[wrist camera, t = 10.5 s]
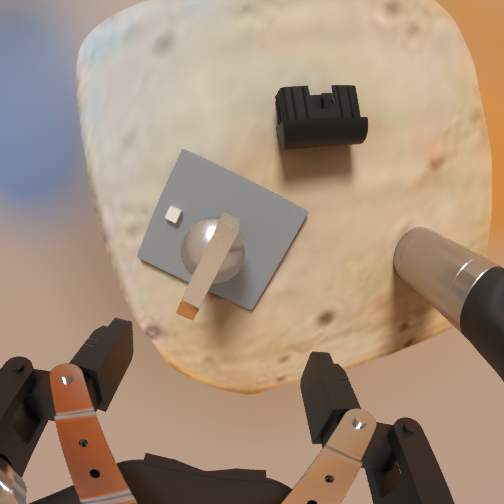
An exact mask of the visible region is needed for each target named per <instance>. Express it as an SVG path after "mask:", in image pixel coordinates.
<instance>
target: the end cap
mask: <svg viewBox="0 0 504 504" xmlns="http://www.w3.org/2000/svg"><path fill="white" fill-rule="evenodd" d="M331 87H332V92H333V93H322V94H321V95H309V89H308V86H293V87H283V88H280V90H279V91H278V94H277V95H276V96H275V98H276V102H275V104H276V110H277V116H278V123H279V125H278V126H277V127H276V129H277V134H278V139H279V143H280V145H281V147H282V149H285V150H286V149H295V148H306V147H318V146H332V145H351V144H361V143H363V142H364V140H365V139H366V136H367V132H368V118H367V117H360V111H359V104H358V99H357V93H356V88H355V86H352V85H332V86H331Z"/></svg>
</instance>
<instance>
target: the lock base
mask: <svg viewBox="0 0 504 504" xmlns="http://www.w3.org/2000/svg"><path fill="white" fill-rule="evenodd" d="M223 212H225V213H227V214H230V215H232V216H234V217H236V218H238V219H240V221H239V230H240V232H241V233H242V236H243V238H244V243H245V258H244V262H243V265H242V267H241V269H240V270H239V272H238V273H237V274H236V275H235V276H234V277H232V278H231V279H229V280H227V281H224V282H221V283H212V284H211V286H210V288H209V290H208V291H209V292H211V293H213V294H215V295H218V296H220V297H222V298H224V299H227V300H229V301H231V302H233V303H236V304H238V305H240V306H242V307H245V308H247V309H249V310H252V309H253V308H254V306H255V304H256V302H257V301H258V299H259V297H260V296H261V294H262V292H263V291H264V289H265V287H266V286H267V284H268V282H269V280H270V279H271V277H272V275H273V274H274V272H275V270H276V268H277V267H278V265H279V263H280V261H281V260H282V258H283V256H284V255H285V253H286V251H287V249H288V248H289V246H290V244H291V242H292V241H293V239H294V237H295V235H296V233H297V232H298V230H299V228H300V226H301V225H302V223H303V221H304V219H305V217H306V216H307V214H308V211H306V210H305V209H303V208H301V207H299V206H297V205H295V204H294V203H292V202H290V201H288V200H286V199H284V198H282V197H281V196H279V195H277V194H275V193H273V192H271V191H269V190H267V189H265V188H263V187H261V186H259V185H257V184H256V183H254V182H252V181H250V180H248V179H246V178H244V177H242V176H240V175H238V174H236V173H234V172H231V171H229V170H227V169H225V168H223V167H221V166H219V165H217V164H215V163H213V162H211V161H209V160H206V159H204V158H202V157H200V156H198V155H196V154H194V153H191V152H189V151H187V150H185V149H182V151H181V153H180V155H179V157H178V159H177V162H176V164H175V166H174V168H173V170H172V172H171V174H170V177H169V179H168V181H167V183H166V186H165V188H164V190H163V192H162V195H161V197H160V199H159V202H158V204H157V207H156V209H155V211H154V214H153V216H152V219H151V221H150V224H149V226H148V229H147V232H146V234H145V237H144V239H143V242H142V245H141V248H140V250H139V253H138V256H137V257H138V258H140V259H142V260H144V261H146V262H148V263H150V264H152V265H154V266H156V267H158V268H160V269H162V270H164V271H166V272H168V273H170V274H172V275H174V276H177V277H179V278H181V279H183V280H185V281H187V282H189V281H190V279H191V277H192V275H191V274H190V273H189V272H188V271H187V269H186V268H185V266H184V264H183V262H182V259H181V244H182V241H183V239H184V237H185V235H186V234H187V232H188V231H189V230H190V228H191V227H192V226H193V225H194V224H195V223H197V222H198V221H200V220H202V219H204V218H208V217H220V218H221V216H222V214H223Z"/></svg>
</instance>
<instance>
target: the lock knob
mask: <svg viewBox="0 0 504 504" xmlns="http://www.w3.org/2000/svg"><path fill="white" fill-rule="evenodd" d="M239 221H240V219H238V218H236V217H234V216H232V215H230V214H227V213H225V212H223V214H222V216H221V218H220V217H208V218H204V219H202V220H200V221H198V222H197V223H195V224H194V225H193V226H192V227H191V228H190V230H189V231H188V232H187V234H186V235H185V237H184V239H183V241H182V244H181V259H182V262H183V264H184V266H185V268H186V269H187V271H188V272H189V273H190V274H191V275H192V277H191V279H190V281H189V284H188V286H187V288H186V291H185V293H184V296H183V298H182V300H181V303H180V305H179V307H178V310H177V312H176V313H177V314H180V315H182V316H184V317H186V318H188V319H191V320H194V318H195V316H196V314H197V312H198V310H199V308H200V306H201V304H202V302H203V300H204V298H205V296H206V294H207V292H208V290H209V288H210V286H211V284H212V283H221V282H224V281H227V280H229V279H231V278H232V277H234V276H235V275H236V274H237V273H238V272H239V270H240V269H241V267H242V265H243V262H244V258H245V243H244V238H243V236H242V233H241V232H240V230H239Z"/></svg>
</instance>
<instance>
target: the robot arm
mask: <svg viewBox="0 0 504 504" xmlns="http://www.w3.org/2000/svg"><path fill="white" fill-rule="evenodd" d="M394 267H395V270H396V272H397V274H398V276H399V277H400V278H401V279H402V280H404V281H405V282H406V283H407V284H408V285H409V286H410V287H412V288H413V289H414V290H415V291H416V292H417V293H418V294H420V295H421V296H422V297H423V298H424V299H425V300H426V301H427V302H429V303H430V304H431V305H432V306H433V307H434V308H435V309H436V310H437V311H438V312H440V313H441V314H442V315H443V316H444V317H445V318H446V319H447V320H448V321H449V322H450V323H451V324H453V325H454V326H455V327H456V328H457V329H458V330H459V331H460V332H461V333H462V334H463V335H464V336H465V337H466V338H467V339H468V340H469V341H470V342H471V343H472V345H474V347H475V348H476V349H477V351H478V352H479V353H480V354H481V355H482V356H483V357H484V359H485V360H486V361H487V362H488V363H489V364H490V365H491V366H492V367H493V369H494V370H495V371H496V372H497V374H498V375H499V376H500V377H501V378H502V380H503V381H504V268H502V267H501V266H499V265H497V264H495V263H494V262H492V261H490V260H488V259H486V258H484V257H482V256H481V255H479V254H477V253H475V252H473V251H471V250H469V249H467V248H465V247H463V246H461V245H459V244H457V243H455V242H453V241H451V240H449V239H447V238H445V237H443V236H441V235H439V234H437V233H435V232H433V231H431V230H428V229H426V228H421V227H420V228H415V229H413V230H411V231H409V232H408V233H406V234H405V235H404V236H403V237H402V239H401V240H400V242H399V244H398V246H397V248H396V251H395V255H394ZM132 332H133V331H132V323H131V321H127V320H123V319H119V318H115V319H114V320H113V321H112V322H111V324H110V325H109V326H108V327H106V326H102V327H100V328H98V329H96V330H95V331H94V332H93V333H92V334H91V335H90V337H89V339H87V341H86V342H85V344H83V346H82V347H81V348H80V350H79V351H78V352H77V353H76V355H75V356H74V358H73V359H72V360H71V361H70V363H64V364H60V365H57V366H55V367H54V368H53V369H52V370H51V371H44V370H37V369H33V366H32V363H31V361H30V360H28V359H27V358H25V357H13V358H11V359H9V360H8V361H7V362H6V363H5V364H4V365H3V367H2V368H1V369H0V504H26V491H27V489H26V485H25V483H24V481H23V479H22V476H23V474H24V471H25V469H26V467H27V464H28V462H29V460H30V458H31V455H32V453H33V451H34V449H35V447H36V444H37V442H38V440H39V438H40V436H41V434H42V432H43V430H44V428H45V426H46V424H47V422H48V420H51V421H55V423H56V427H57V431H58V436H59V439H60V443H61V447H62V450H63V454H64V457H65V460H66V463H67V466H68V469H69V472H70V475H71V478H72V481H73V484H74V485H73V486H70V487H68V488H66V489H63V490H61V491H59V492H56V493H54V494H52V495H49V496H47V497H45V498H42V499H39V500H37V501H34V502H31V503H29V504H341V502H342V501H343V499H344V497H345V496H346V494H347V492H348V490H349V489H350V487H351V485H352V483H353V481H354V479H355V478H356V476H357V474H358V472H359V470H360V468H365V471H366V475H367V479H368V483H369V487H370V491H371V495H372V500H373V504H454V501H453V499H452V496H451V493H450V491H449V488H448V486H447V483H446V481H445V479H444V476H443V474H442V472H441V469H440V467H439V464H438V462H437V460H436V458H435V455H434V453H433V451H432V449H431V447H430V445H429V442H428V440H427V438H426V436H425V434H424V432H423V430H422V427H421V426H420V424H419V423H418V422H416V421H415V420H413V419H411V418H400V419H398V420H397V421H396V422H395V423H394V425H389V424H383V423H378V422H376V421H375V418H374V417H373V416H372V415H371V414H370V413H369V412H367V411H365V410H362V409H361V408H360V405H359V403H358V401H357V398H356V396H355V393H354V391H353V388H352V387H351V384H350V381H348V377H347V375H346V372H345V371H344V370H343V369H342V367H341V366H340V365H339V364H333V361H332V359H331V356H330V354H329V353H326V352H312V353H311V354H310V356H309V359H308V362H307V364H306V367H305V370H304V372H303V375H302V378H301V393H302V397H303V402H304V406H305V411H306V416H307V420H308V425H309V429H310V434H311V439H312V444H322V447H323V449H322V450H321V451H320V453H319V454H318V456H317V457H316V459H315V460H314V461H313V463H312V464H311V466H310V467H309V468H308V470H307V471H306V472H305V474H304V475H303V476H302V478H301V479H300V480H299V481H298V483H297V484H296V485H295V486H294V488H293V489H291V488H290V487H288V486H286V485H284V484H283V483H281V482H278V481H276V480H273V479H270V478H266V470H249V469H228V470H217V471H203V470H200V469H197V468H195V467H192V466H189V465H187V464H184V463H182V462H179V461H177V460H175V459H169V458H165V457H161V456H156V455H152V454H149V453H146V454H145V458H144V460H129V461H123V462H120V463H117V464H116V462H115V460H114V457H113V456H112V453H111V451H110V448H109V446H108V444H107V441H106V439H105V437H104V434H103V431H102V429H101V426H100V424H99V421H98V418H97V416H96V411H97V409H99V410H102V411H105V412H106V410H107V409H108V406H109V404H110V402H111V400H112V398H113V396H114V394H115V392H116V390H117V388H118V386H119V384H120V382H121V380H122V378H123V376H124V374H125V372H126V370H127V368H128V366H129V364H130V362H131V360H132V356H133V333H132ZM397 463H398V464H397ZM398 466H399V467H398ZM399 468H400V470H399ZM400 471H401V473H400ZM401 475H402V476H401Z"/></svg>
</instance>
